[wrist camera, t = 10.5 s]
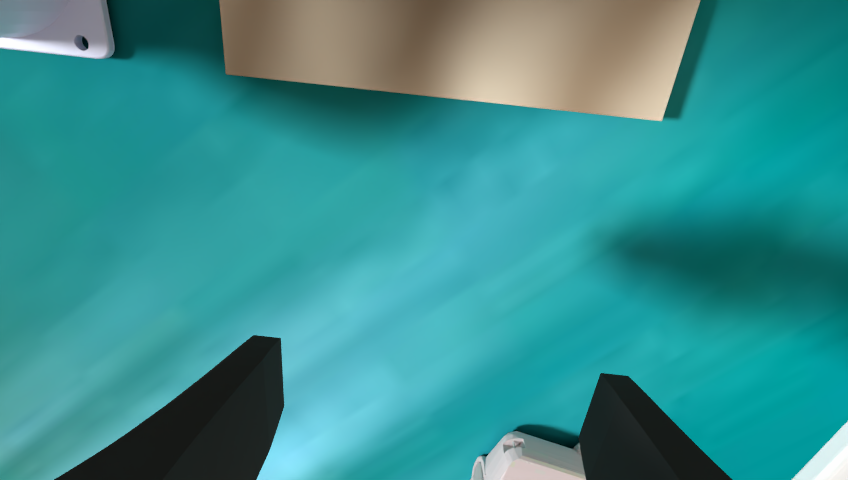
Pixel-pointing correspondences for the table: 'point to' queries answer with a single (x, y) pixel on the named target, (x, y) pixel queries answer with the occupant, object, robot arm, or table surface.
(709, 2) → the table surface
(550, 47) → the socket board
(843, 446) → the external hard drive
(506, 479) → the mobile phone
